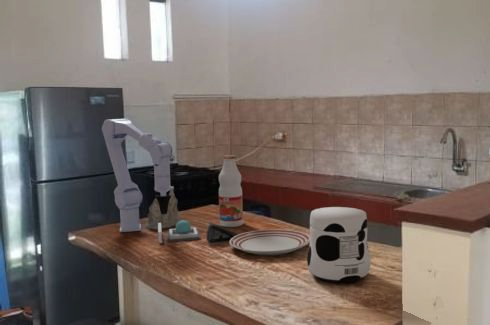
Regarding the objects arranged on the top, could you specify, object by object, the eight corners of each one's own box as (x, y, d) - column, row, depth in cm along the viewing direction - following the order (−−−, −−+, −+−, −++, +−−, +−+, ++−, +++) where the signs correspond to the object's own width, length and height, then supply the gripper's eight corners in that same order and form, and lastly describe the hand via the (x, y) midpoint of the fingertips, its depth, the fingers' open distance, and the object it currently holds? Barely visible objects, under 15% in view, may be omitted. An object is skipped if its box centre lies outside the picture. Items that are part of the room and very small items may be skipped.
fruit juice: (247, 223, 200) (245, 154, 196) (236, 228, 192) (234, 157, 188) (227, 221, 204) (224, 154, 201) (215, 226, 196) (213, 156, 193)
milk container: (326, 262, 149) (326, 203, 147) (380, 273, 138) (381, 210, 136) (295, 278, 136) (294, 215, 134) (352, 292, 125) (352, 223, 123)
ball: (175, 231, 185) (174, 218, 183) (190, 230, 186) (189, 217, 184) (176, 238, 180) (175, 224, 178) (191, 237, 181) (190, 223, 179)
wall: (158, 233, 188) (157, 222, 187) (161, 232, 188) (161, 222, 188) (158, 243, 174) (158, 232, 174) (162, 242, 174) (161, 232, 174)
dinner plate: (214, 254, 160) (213, 244, 160) (252, 233, 184) (252, 225, 184) (292, 265, 148) (292, 254, 147) (322, 241, 172) (322, 232, 171)
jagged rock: (164, 216, 215) (161, 183, 212) (187, 224, 203) (184, 189, 200) (133, 225, 204) (130, 191, 201) (155, 234, 192) (152, 197, 190)
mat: (166, 233, 187) (166, 228, 187) (198, 230, 190) (197, 226, 189) (167, 241, 176) (167, 236, 176) (201, 239, 178) (200, 234, 178)
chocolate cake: (236, 237, 181) (211, 216, 180) (241, 236, 175) (216, 214, 173) (220, 257, 178) (195, 236, 177) (225, 257, 172) (199, 235, 170)
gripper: (174, 178, 175) (175, 215, 176) (172, 172, 189) (173, 206, 190) (153, 179, 173) (155, 216, 175) (153, 173, 187) (155, 208, 189)
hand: (163, 211), depth 183 cm, fingers open, 7 cm apart
